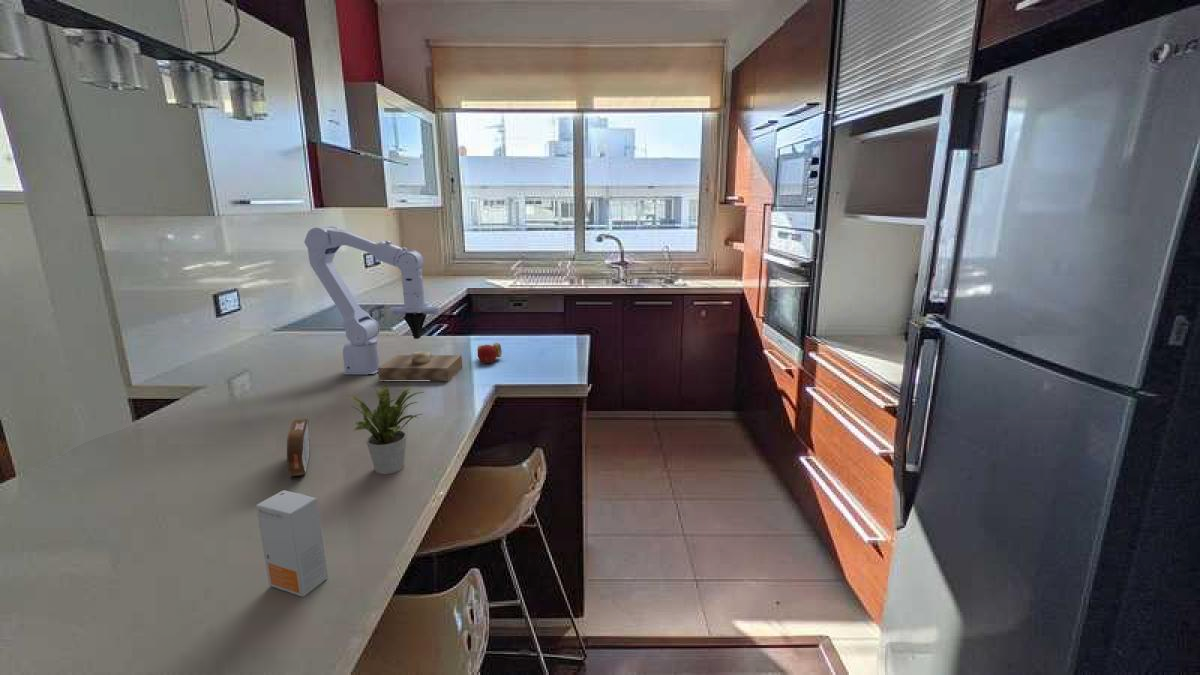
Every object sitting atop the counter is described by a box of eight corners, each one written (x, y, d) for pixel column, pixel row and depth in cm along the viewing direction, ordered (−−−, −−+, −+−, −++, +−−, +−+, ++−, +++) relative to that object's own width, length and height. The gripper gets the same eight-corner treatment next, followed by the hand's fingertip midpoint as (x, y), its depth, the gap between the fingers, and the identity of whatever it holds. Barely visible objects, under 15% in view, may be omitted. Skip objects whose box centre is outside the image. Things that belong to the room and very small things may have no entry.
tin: (297, 452, 111) (291, 413, 109) (314, 449, 112) (308, 410, 110) (288, 485, 97) (281, 441, 95) (308, 482, 98) (301, 438, 97)
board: (379, 381, 155) (377, 368, 155) (398, 367, 169) (397, 355, 168) (448, 381, 155) (447, 368, 154) (462, 367, 168) (461, 355, 167)
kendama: (483, 355, 188) (471, 362, 170) (486, 337, 188) (474, 342, 170) (505, 359, 188) (495, 366, 170) (508, 341, 188) (498, 346, 170)
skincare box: (268, 587, 71) (253, 504, 68) (296, 567, 75) (283, 488, 72) (302, 599, 69) (289, 513, 66) (330, 578, 73) (318, 496, 70)
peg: (410, 375, 159) (408, 355, 158) (417, 370, 164) (415, 351, 163) (427, 375, 159) (425, 355, 158) (434, 370, 164) (432, 351, 163)
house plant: (447, 468, 103) (441, 386, 99) (375, 495, 93) (365, 405, 90) (412, 446, 113) (405, 370, 109) (343, 468, 103) (332, 386, 99)
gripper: (383, 294, 156) (387, 340, 159) (433, 295, 155) (436, 341, 158) (393, 291, 163) (397, 335, 166) (441, 291, 162) (444, 335, 165)
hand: (417, 338), depth 163 cm, fingers closed
